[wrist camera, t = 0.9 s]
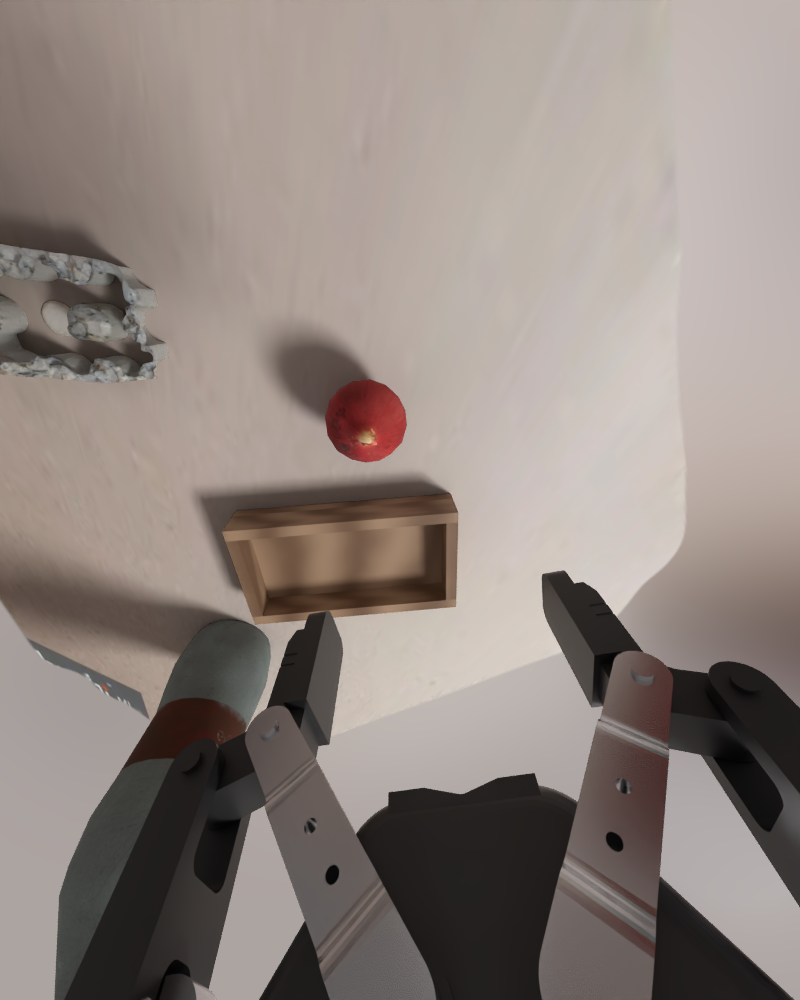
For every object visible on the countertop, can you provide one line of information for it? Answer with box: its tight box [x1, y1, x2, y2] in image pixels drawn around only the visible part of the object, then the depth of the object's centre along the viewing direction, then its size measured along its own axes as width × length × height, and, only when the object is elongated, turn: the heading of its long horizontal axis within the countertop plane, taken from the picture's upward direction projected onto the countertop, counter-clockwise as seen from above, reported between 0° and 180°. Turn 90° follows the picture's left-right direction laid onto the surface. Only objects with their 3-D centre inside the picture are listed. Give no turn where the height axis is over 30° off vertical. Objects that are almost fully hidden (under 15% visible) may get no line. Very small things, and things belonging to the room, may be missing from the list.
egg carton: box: [0, 244, 169, 383], centre depth 24 cm, size 11×8×4 cm
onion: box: [325, 379, 407, 462], centre depth 26 cm, size 6×6×8 cm
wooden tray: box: [222, 494, 458, 624], centre depth 34 cm, size 20×11×4 cm, turn 93°
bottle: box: [55, 620, 271, 1000], centre depth 28 cm, size 9×9×30 cm
